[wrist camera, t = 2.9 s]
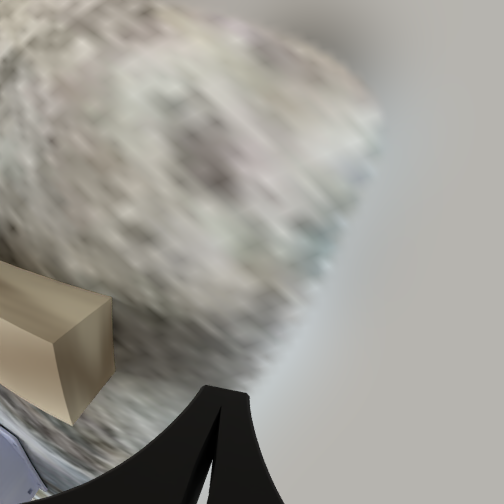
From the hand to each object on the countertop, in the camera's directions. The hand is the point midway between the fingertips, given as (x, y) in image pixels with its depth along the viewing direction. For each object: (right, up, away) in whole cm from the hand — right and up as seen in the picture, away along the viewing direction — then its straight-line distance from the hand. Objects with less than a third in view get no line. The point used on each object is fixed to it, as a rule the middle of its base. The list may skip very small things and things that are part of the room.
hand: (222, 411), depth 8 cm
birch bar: (-9, +2, +3) cm, 9 cm away
